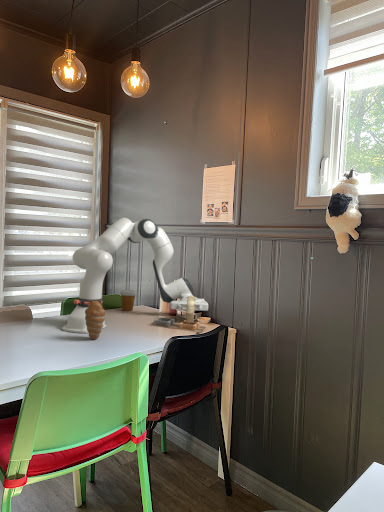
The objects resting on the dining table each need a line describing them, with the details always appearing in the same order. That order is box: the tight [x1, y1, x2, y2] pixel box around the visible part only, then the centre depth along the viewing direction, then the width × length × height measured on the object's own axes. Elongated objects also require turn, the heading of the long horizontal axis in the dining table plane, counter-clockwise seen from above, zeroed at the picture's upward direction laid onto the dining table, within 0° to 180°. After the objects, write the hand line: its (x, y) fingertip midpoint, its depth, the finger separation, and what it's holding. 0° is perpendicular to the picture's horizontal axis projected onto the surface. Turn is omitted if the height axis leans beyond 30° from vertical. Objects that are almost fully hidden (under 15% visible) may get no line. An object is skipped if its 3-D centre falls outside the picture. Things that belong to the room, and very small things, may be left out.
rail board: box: [147, 316, 207, 335], centre depth 198 cm, size 12×28×4 cm, turn 73°
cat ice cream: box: [85, 300, 107, 340], centre depth 170 cm, size 9×8×18 cm
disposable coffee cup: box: [119, 289, 137, 313], centre depth 234 cm, size 10×10×12 cm
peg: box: [185, 295, 196, 325], centre depth 196 cm, size 4×4×16 cm
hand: (190, 308), depth 198 cm, fingers open, 8 cm apart
